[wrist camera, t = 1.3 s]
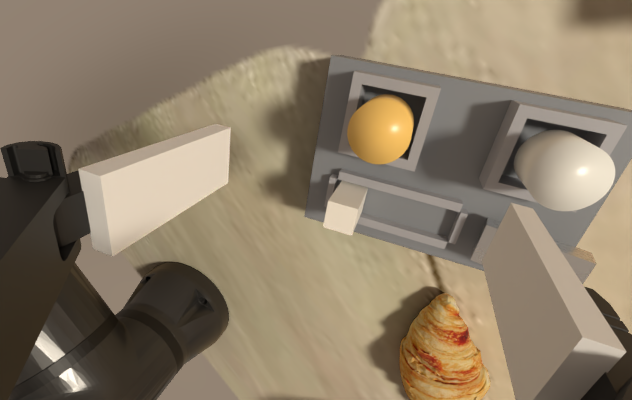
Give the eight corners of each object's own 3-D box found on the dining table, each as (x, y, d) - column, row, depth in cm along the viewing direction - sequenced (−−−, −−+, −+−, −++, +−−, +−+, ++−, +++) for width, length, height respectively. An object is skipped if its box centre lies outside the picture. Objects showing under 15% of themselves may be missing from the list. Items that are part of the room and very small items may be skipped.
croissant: (419, 267, 41) (383, 299, 36) (506, 298, 34) (475, 343, 29) (418, 387, 49) (387, 427, 44) (489, 432, 42) (462, 486, 37)
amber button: (352, 143, 27) (341, 155, 24) (364, 88, 25) (354, 94, 22) (405, 155, 26) (401, 171, 23) (421, 100, 24) (420, 108, 21)
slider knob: (336, 203, 33) (322, 226, 28) (342, 180, 31) (328, 200, 27) (362, 211, 32) (351, 235, 28) (368, 187, 31) (358, 209, 27)
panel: (315, 201, 38) (295, 227, 32) (342, 55, 31) (322, 55, 25) (535, 265, 33) (557, 309, 28) (627, 109, 26) (683, 124, 20)
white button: (503, 180, 25) (516, 200, 21) (529, 123, 23) (548, 135, 19) (567, 195, 24) (590, 219, 20) (599, 137, 22) (632, 153, 18)
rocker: (472, 250, 30) (470, 259, 28) (487, 216, 28) (486, 224, 27) (568, 288, 27) (571, 300, 25) (591, 252, 25) (596, 264, 24)
